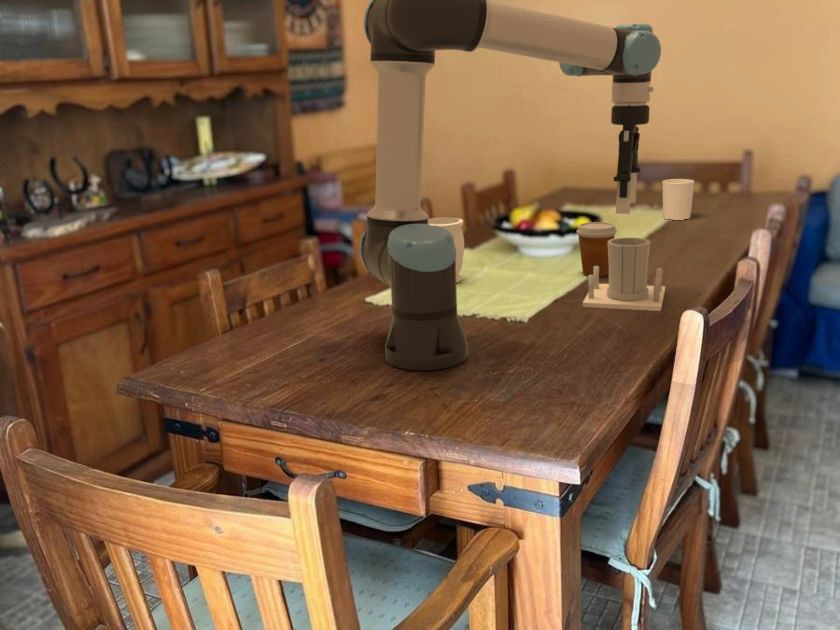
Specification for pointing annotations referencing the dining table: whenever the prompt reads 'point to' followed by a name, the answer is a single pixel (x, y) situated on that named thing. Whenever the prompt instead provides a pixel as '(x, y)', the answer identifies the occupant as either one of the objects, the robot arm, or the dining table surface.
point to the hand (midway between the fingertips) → (626, 208)
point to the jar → (455, 229)
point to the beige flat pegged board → (601, 300)
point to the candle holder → (677, 198)
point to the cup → (628, 268)
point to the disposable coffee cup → (595, 246)
